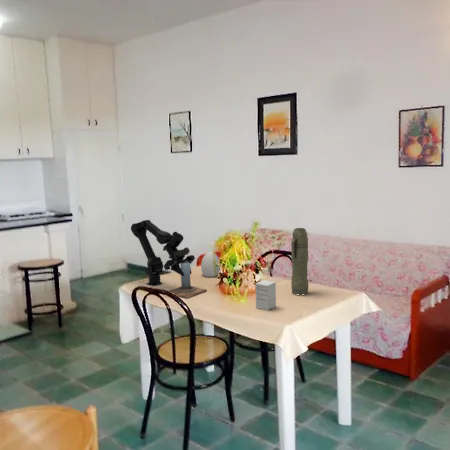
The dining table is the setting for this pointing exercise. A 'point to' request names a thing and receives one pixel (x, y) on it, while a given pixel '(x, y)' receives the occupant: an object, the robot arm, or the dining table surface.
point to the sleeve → (185, 274)
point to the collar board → (198, 291)
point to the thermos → (299, 261)
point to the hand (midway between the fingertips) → (187, 274)
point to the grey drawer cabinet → (265, 294)
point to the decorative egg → (210, 265)
